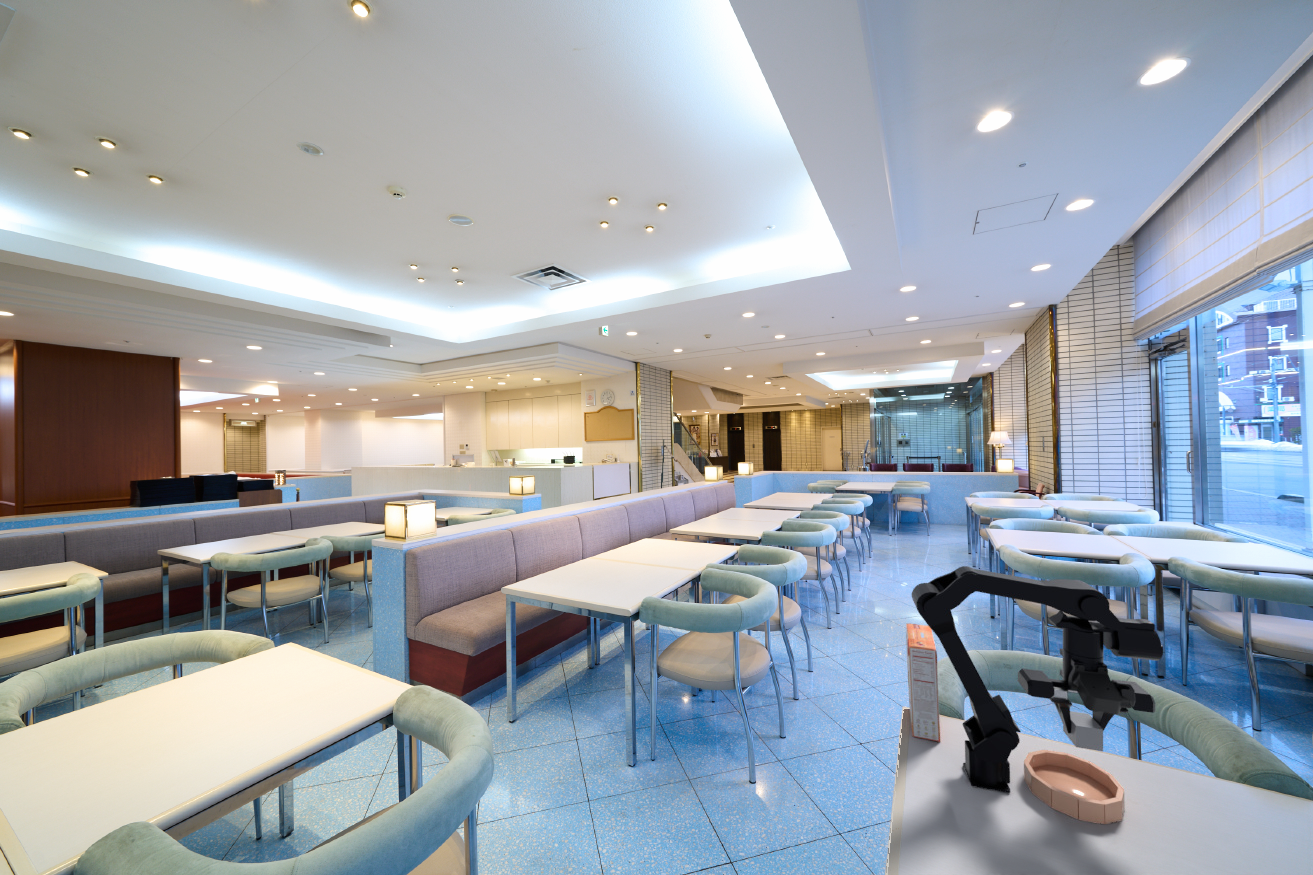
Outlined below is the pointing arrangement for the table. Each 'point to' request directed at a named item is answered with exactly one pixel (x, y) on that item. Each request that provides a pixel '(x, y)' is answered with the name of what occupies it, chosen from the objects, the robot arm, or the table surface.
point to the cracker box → (923, 682)
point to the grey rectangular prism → (1085, 732)
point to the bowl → (1074, 786)
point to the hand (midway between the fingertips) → (1082, 734)
